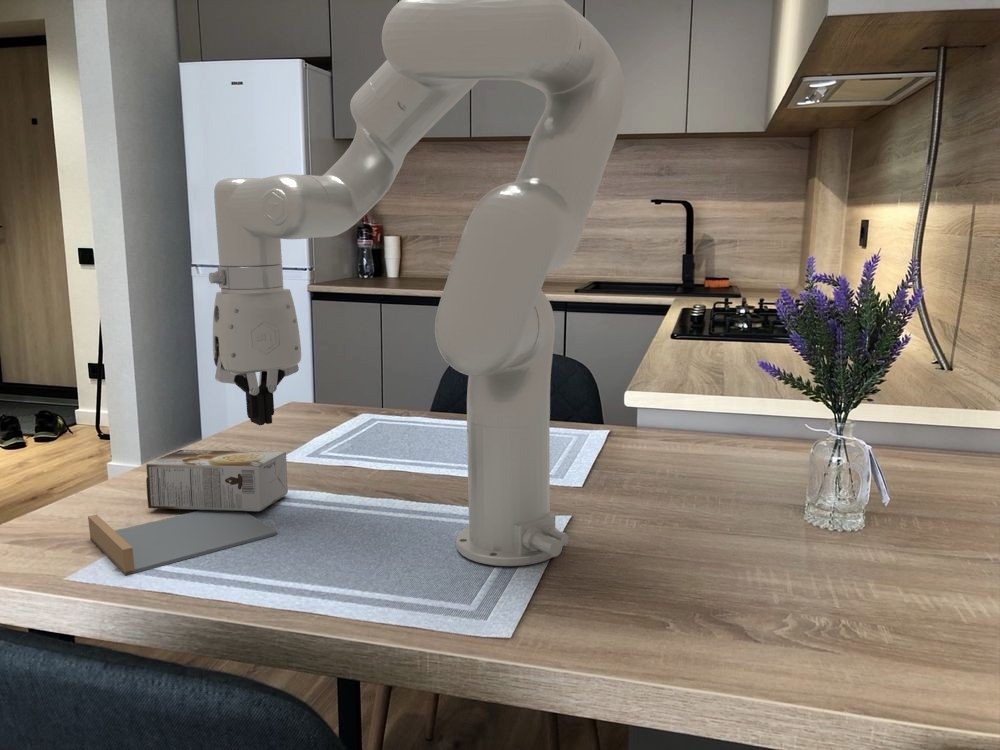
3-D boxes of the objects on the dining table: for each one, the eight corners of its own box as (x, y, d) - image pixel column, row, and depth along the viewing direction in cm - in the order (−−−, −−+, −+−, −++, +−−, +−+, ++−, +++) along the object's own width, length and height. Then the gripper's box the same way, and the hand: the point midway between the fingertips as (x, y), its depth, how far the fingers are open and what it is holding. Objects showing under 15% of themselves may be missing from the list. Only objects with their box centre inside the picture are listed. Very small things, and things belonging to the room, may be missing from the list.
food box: (288, 495, 118) (183, 492, 121) (287, 450, 118) (181, 448, 120) (259, 512, 109) (146, 509, 112) (257, 464, 109) (144, 461, 111)
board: (277, 534, 104) (276, 511, 103) (125, 575, 93) (122, 549, 92) (232, 505, 114) (230, 484, 114) (90, 539, 103) (87, 516, 103)
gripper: (203, 285, 97) (215, 438, 101) (320, 278, 106) (327, 418, 110) (181, 281, 103) (192, 427, 106) (293, 275, 112) (301, 408, 116)
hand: (261, 422), depth 108 cm, fingers closed
